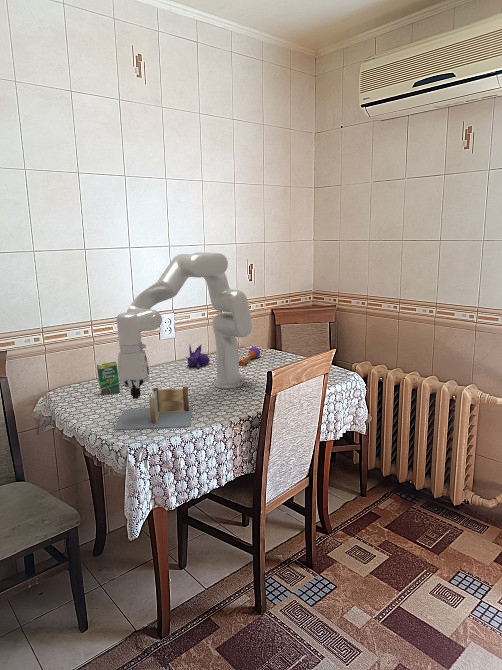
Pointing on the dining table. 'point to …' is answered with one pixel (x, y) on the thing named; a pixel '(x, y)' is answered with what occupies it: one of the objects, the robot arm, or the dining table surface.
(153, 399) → the fence gate
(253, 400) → the dining table surface
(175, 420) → the card
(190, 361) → the creature
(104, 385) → the coffee box
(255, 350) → the kendama
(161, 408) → the fence fixed
